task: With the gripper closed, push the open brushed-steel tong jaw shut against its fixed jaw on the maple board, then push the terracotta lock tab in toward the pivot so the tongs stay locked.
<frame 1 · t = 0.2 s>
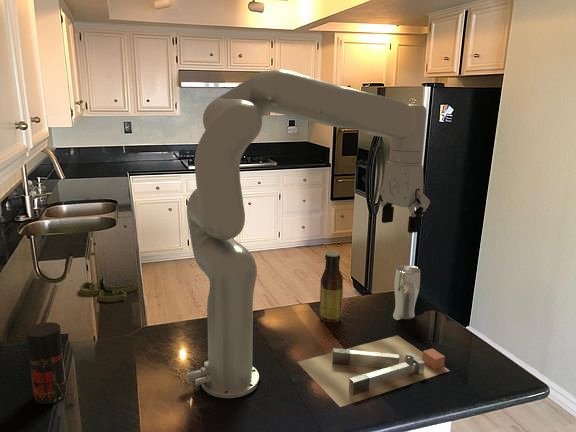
hand: (399, 227, 115), 31 cm above the counter, fingers open, 9 cm apart
deodorant: (50, 396, 96), on the counter
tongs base: (404, 368, 107), resting on board
cookie cutter: (107, 294, 147), on the counter
sauce bottle: (330, 320, 132), on the counter
lock tab: (433, 358, 109), point 3 cm above the counter, slide at 0.0 cm
board: (372, 370, 108), on the counter
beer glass: (403, 318, 135), on the counter
tong jaw: (365, 359, 107), point 3 cm above the counter, hinge at 35.0°
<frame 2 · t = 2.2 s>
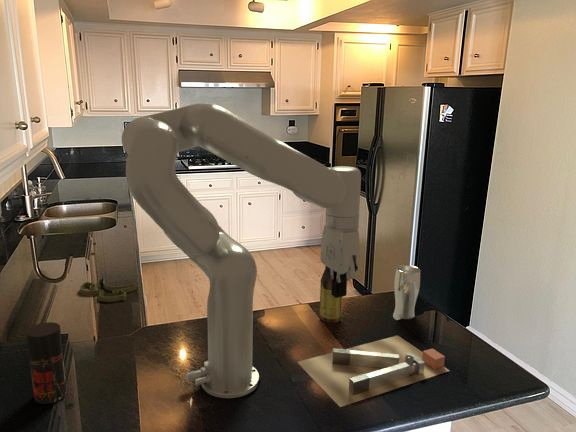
hand: (338, 295, 111), 15 cm above the counter, fingers closed
nothing on the counter moved.
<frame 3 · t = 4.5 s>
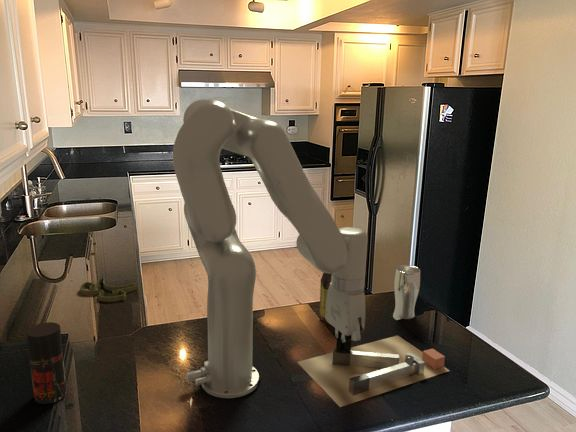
hand: (343, 353, 111), 2 cm above the counter, fingers closed
tong jaw: (365, 359, 107), point 3 cm above the counter, hinge at 33.8°, touching gripper
everything else where it was.
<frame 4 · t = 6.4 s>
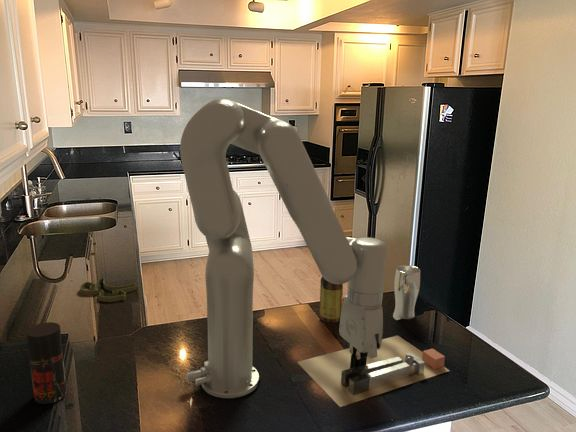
hand: (357, 371, 105), 2 cm above the counter, fingers closed
tong jaw: (372, 371, 103), point 3 cm above the counter, hinge at 2.5°, touching gripper
everything else where it was.
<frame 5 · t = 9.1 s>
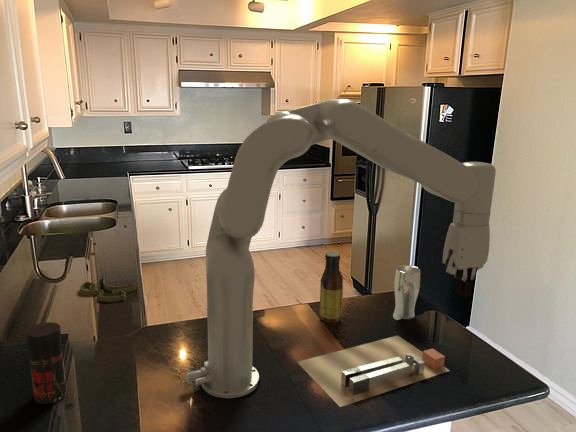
hand: (462, 294, 108), 17 cm above the counter, fingers closed
tong jaw: (372, 371, 103), point 3 cm above the counter, hinge at 2.2°
everything else where it was.
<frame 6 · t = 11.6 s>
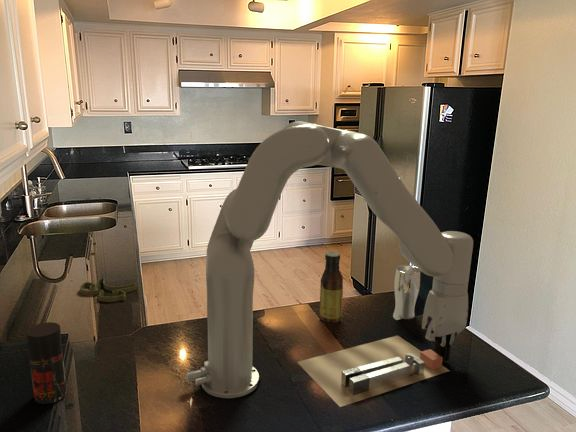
hand: (441, 358, 110), 2 cm above the counter, fingers closed
lock tab: (431, 359, 108), point 3 cm above the counter, slide at 0.7 cm, touching gripper
everything else where it was.
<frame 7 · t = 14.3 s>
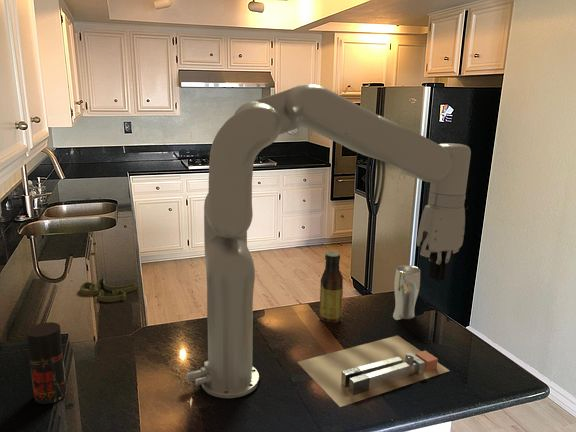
hand: (436, 278, 107), 21 cm above the counter, fingers closed
lock tab: (426, 360, 108), point 3 cm above the counter, slide at 2.3 cm
everything else where it was.
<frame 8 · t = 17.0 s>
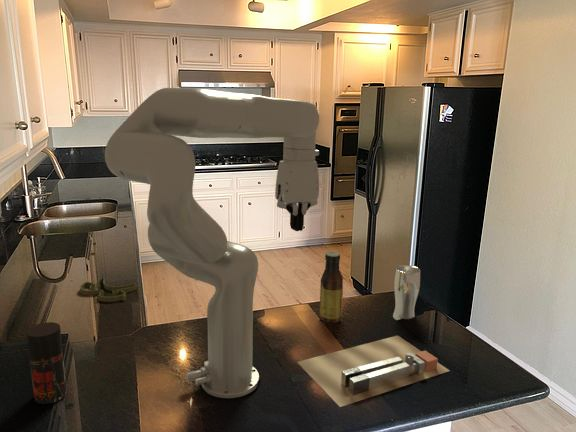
hand: (296, 229, 115), 29 cm above the counter, fingers closed
nothing on the counter moved.
at the end: tong jaw at +2° (first picture: +35°); lock tab slide at 2.3 cm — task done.
